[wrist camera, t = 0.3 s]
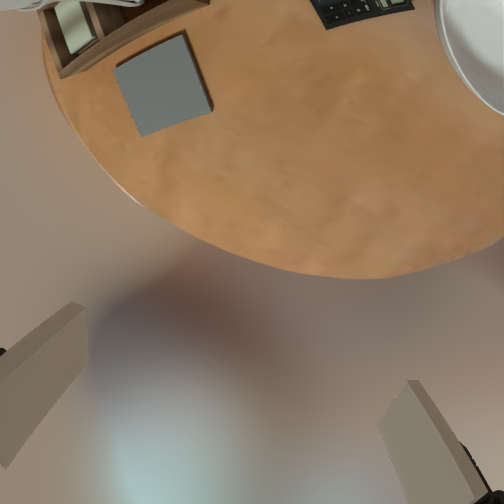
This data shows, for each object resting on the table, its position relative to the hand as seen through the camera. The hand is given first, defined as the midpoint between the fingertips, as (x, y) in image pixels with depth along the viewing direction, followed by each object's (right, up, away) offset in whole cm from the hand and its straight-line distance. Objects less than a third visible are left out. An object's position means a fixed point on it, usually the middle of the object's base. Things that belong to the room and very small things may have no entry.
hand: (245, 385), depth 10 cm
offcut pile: (-23, +39, +16) cm, 48 cm away
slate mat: (-12, +28, +24) cm, 39 cm away
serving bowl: (+31, +33, +8) cm, 46 cm away
